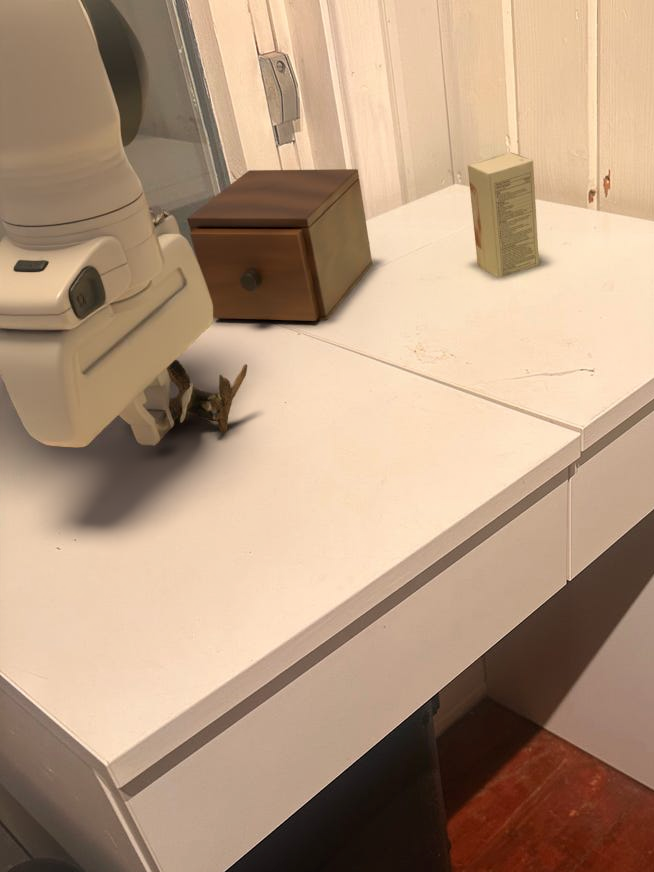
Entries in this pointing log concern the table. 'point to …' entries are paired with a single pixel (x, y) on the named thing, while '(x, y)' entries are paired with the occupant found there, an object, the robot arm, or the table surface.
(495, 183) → the tall printed carton
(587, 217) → the table surface
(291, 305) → the drawer
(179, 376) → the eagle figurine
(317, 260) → the cabinet
